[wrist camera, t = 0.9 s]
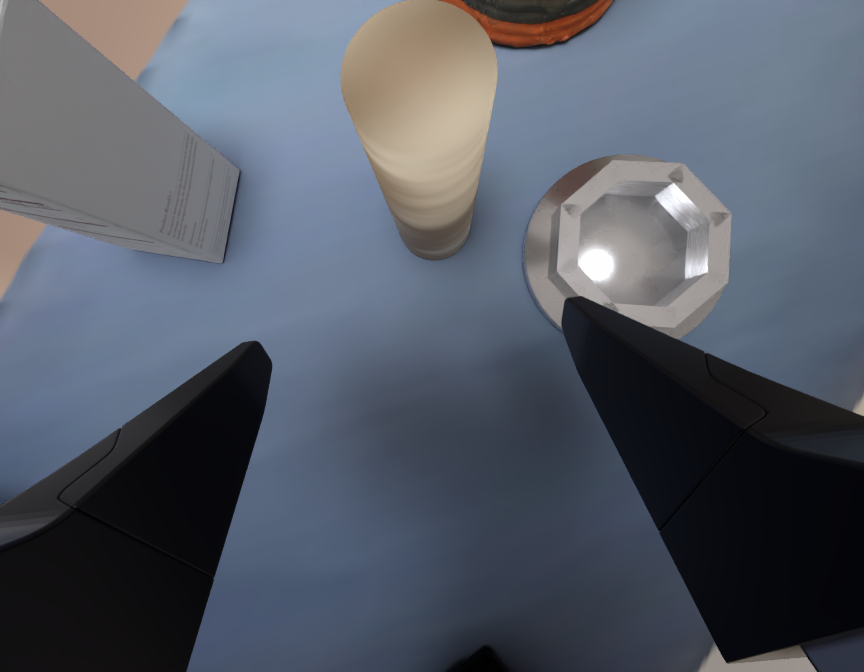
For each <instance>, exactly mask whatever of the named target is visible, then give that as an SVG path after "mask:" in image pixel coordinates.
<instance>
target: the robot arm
mask: <svg viewBox="0 0 864 672" xmlns="http://www.w3.org/2000/svg"><path fill="white" fill-rule="evenodd" d="M561 326H562V330H563V333H564V335H565V338H566V341H567V344H568V347H569V349H570V352H571V355H572V358H573V361H574V363H575V366H576V369H577V371H578V373H579V376H580V378H581V380H582V382H583V384H584V386H585V388H586V390H587V391H588V393H589V395H590V397H591V399H592V401H593V403H594V405H595V407H596V409H597V411H598V413H599V415H600V417H601V419H602V421H603V423H604V425H605V427H606V429H607V431H608V433H609V435H610V437H611V439H612V441H613V443H614V444H615V446H616V448H617V450H618V452H619V454H620V456H621V458H622V460H623V462H624V464H625V466H626V468H627V470H628V472H629V474H630V476H631V478H632V480H633V482H634V484H635V486H636V488H637V490H638V492H639V494H640V496H641V498H642V499H643V501H644V503H645V505H646V507H647V509H648V511H649V513H650V515H651V517H652V519H653V521H654V523H655V525H656V527H657V529H658V530H659V531H660V532H659V533H660V535H661V537H662V539H663V541H664V543H665V545H666V547H667V549H668V551H669V553H670V555H671V557H672V559H673V561H674V563H675V565H676V567H677V569H678V571H679V573H680V575H681V577H682V578H683V580H684V582H685V584H686V586H687V588H688V590H689V592H690V594H691V596H692V598H693V600H694V602H695V604H696V606H697V608H698V610H699V612H700V614H701V616H702V618H703V620H704V622H705V624H706V626H707V628H708V630H709V631H710V633H711V635H712V637H713V639H714V641H715V643H716V645H717V647H718V649H719V651H720V653H721V655H722V656H723V658H724V660H725V661H726V663H728V664H730V663H742V662H754V661H766V660H776V659H789V658H800V657H808V659H809V661H810V662H811V663H812V665H813V666H814V668H815V669H816V671H817V672H864V416H861V415H859V414H856V413H854V412H851V411H849V410H846V409H844V408H841V407H838V406H836V405H833V404H831V403H828V402H826V401H823V400H820V399H818V398H815V397H813V396H810V395H808V394H805V393H802V392H800V391H797V390H795V389H792V388H790V387H787V386H784V385H782V384H779V383H777V382H774V381H772V380H769V379H767V378H764V377H762V376H759V375H757V374H754V373H752V372H749V371H747V370H745V369H743V368H740V367H738V366H736V365H733V364H731V363H729V362H726V361H724V360H722V359H720V358H718V357H715V356H713V355H711V354H709V353H704V351H702V350H700V349H698V348H695V347H693V346H691V345H689V344H687V343H684V342H682V341H680V340H678V339H676V338H673V337H671V336H669V335H667V334H665V333H662V332H660V331H658V330H656V329H653V328H651V327H649V326H647V325H645V324H642V323H640V322H638V321H636V320H634V319H631V318H629V317H627V316H625V315H623V314H620V313H618V312H616V311H614V310H612V309H609V308H607V307H605V306H603V305H601V304H598V303H596V302H594V301H592V300H589V299H587V298H585V297H583V296H574V297H568V298H566V299H565V301H564V307H563V313H562V319H561ZM271 372H272V362H271V359H270V358H269V356H268V355H267V353H266V351H265V350H264V348H263V347H262V345H261V344H260V343H259V342H258V341H249V342H243V343H241V344H240V345H238V346H237V347H235V348H234V349H232V350H231V351H230V352H228V353H227V354H225V355H224V356H222V357H221V358H219V359H218V360H217V361H215V362H214V363H212V364H211V365H209V366H208V367H207V368H205V369H204V370H202V371H201V372H199V373H198V374H196V375H195V376H194V377H192V378H191V379H189V380H188V381H186V382H185V383H184V384H182V385H181V386H179V387H178V388H176V389H175V390H173V391H172V392H171V393H169V394H168V395H166V396H165V397H163V398H162V399H161V400H159V401H158V402H156V403H155V404H153V405H152V406H151V407H149V408H148V409H146V410H145V411H143V412H142V413H140V414H139V415H138V416H136V417H135V418H133V419H132V420H130V421H129V422H128V423H126V424H125V425H123V426H122V428H119V429H117V430H116V431H114V432H113V433H112V434H110V435H109V436H107V437H106V438H104V439H103V440H102V441H100V442H99V443H97V444H96V445H94V446H93V447H91V448H90V449H88V450H87V451H85V452H84V453H82V454H81V455H79V456H78V457H76V458H75V459H73V460H72V461H70V462H69V463H67V464H66V465H64V466H63V467H61V468H59V469H58V470H56V471H55V472H53V473H52V474H50V475H49V476H47V477H46V478H44V479H42V480H41V481H39V482H38V483H36V484H35V485H33V486H31V487H30V488H28V489H27V490H25V491H24V492H22V493H20V494H19V495H17V496H16V497H14V498H13V499H11V500H9V501H8V502H6V503H5V504H3V505H2V506H0V672H186V671H187V667H188V664H189V661H190V657H191V654H192V651H193V647H194V644H195V641H196V638H197V634H198V631H199V628H200V624H201V621H202V618H203V614H204V611H205V608H206V604H207V601H208V598H209V594H210V591H211V588H212V585H213V581H214V579H213V578H214V577H215V574H216V571H217V567H218V564H219V561H220V557H221V554H222V551H223V547H224V544H225V541H226V537H227V534H228V531H229V527H230V524H231V521H232V518H233V514H234V511H235V508H236V504H237V501H238V498H239V494H240V491H241V488H242V484H243V481H244V478H245V475H246V471H247V468H248V465H249V461H250V458H251V455H252V451H253V448H254V445H255V441H256V438H257V435H258V431H259V428H260V425H261V422H262V418H263V414H264V410H265V406H266V400H267V395H268V389H269V384H270V378H271ZM486 657H489V659H484V658H486ZM454 672H509V671H508V669H507V668H506V667H505V666H504V664H503V663H502V662H501V661H500V660H499V658H498V657H497V656H496V655H495V653H494V652H493V651H492V650H491V649H490V648H483V649H481V650H480V651H479V652H478V653H476V654H475V655H474V656H473V657H472V658H470V659H469V660H468V661H467V662H466V663H465V664H463V665H462V666H461V667H460V668H458V669H457V670H456V671H454Z"/></svg>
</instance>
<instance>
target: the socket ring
mask: <svg viewBox="0 0 864 672" xmlns="http://www.w3.org/2000/svg"><path fill="white" fill-rule="evenodd" d="M731 215H732V214H731V213H730V212H729V211H728V210H727V208H726V207H725V206H724V205H723V204H722V203H721V202H720V201H719V200H718V199H717V198H716V197H715V196H714V195H713V194H712V193H711V192H710V191H709V190H708V189H707V188H706V187H705V186H704V185H703V184H702V182H701V181H700V180H699V179H698V178H697V177H696V176H695V175H694V174H693V173H692V172H691V171H690V170H689V169H688V168H687V167H686V166H685V165H684V163H668V162H665V161H662V160H659V159H656V158H652V157H648V156H641V155H614V156H607V157H603V158H599V159H595V160H592V161H590V162H587V163H585V164H582V165H580V166H579V167H577V168H575V169H573V170H572V171H570V172H568V173H567V174H566V175H564V176H563V177H562V178H561V179H559V180H558V181H557V182H556V183H555V184H554V185H553V186H552V187H551V188H550V189H549V191H548V192H547V193H546V194H545V196H544V197H543V198H542V200H541V201H540V203H539V204H538V206H537V208H536V209H535V211H534V213H533V215H532V217H531V219H530V221H529V224H528V226H527V229H526V233H525V236H524V242H523V249H522V264H523V271H524V277H525V280H526V284H527V287H528V290H529V292H530V294H531V297H532V299H533V300H534V302H535V304H536V305H537V307H538V309H539V310H540V311H541V313H542V314H543V315H544V316H545V318H546V319H547V320H548V321H549V322H550V323H551V324H552V325H553V326H554V327H555V328H557V329H558V330H559V331H561V332H562V333H563V330H562V326H561V319H562V313H563V307H564V301H565V299H566V298H568V297H574V296H583V297H585V298H587V299H589V300H592V301H594V302H596V303H598V304H601V305H603V306H605V307H607V308H609V309H612V310H614V311H616V312H618V313H620V314H623V315H625V316H627V317H629V318H631V319H634V320H636V321H638V322H640V323H642V324H645V325H647V326H649V327H651V328H653V329H656V330H658V331H660V332H662V333H665V334H667V335H669V336H671V337H673V338H676V339H679V338H681V337H683V336H684V335H686V334H687V333H689V332H690V331H691V330H693V329H694V328H695V327H697V326H698V325H699V324H700V323H701V322H702V321H703V320H704V319H705V318H706V317H707V315H708V314H709V313H710V312H711V310H712V309H713V308H714V306H715V304H716V303H717V301H718V299H719V298H720V296H721V293H722V291H723V289H724V286H725V285H726V284H727V283H728V282H729V281H728V275H729V265H730V233H731ZM563 334H564V333H563Z"/></svg>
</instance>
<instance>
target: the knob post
mask: <svg viewBox="0 0 864 672" xmlns="http://www.w3.org/2000/svg"><path fill="white" fill-rule="evenodd" d="M497 78H498V66H497V59H496V54H495V51H494V47H493V45H492V43H491V40H490V38H489V36H488V35H487V33H486V32H485V30H484V29H483V28H482V26H481V25H480V24H479V23H478V22H477V21H476V20H475V19H474V18H473V17H472V16H471V15H469V14H468V13H467V12H465V11H464V10H462V9H460V8H458V7H456V6H454V5H452V4H449V3H446V2H443V1H438V0H407V1H403V2H399V3H396V4H393V5H391V6H389V7H386V8H384V9H383V10H381V11H379V12H378V13H376V14H375V15H373V16H372V17H371V18H370V19H368V20H367V21H366V22H365V23H364V24H363V25H362V26H361V27H360V29H359V30H358V31H357V32H356V34H355V35H354V37H353V38H352V40H351V42H350V43H349V45H348V48H347V50H346V52H345V56H344V59H343V62H342V69H341V89H342V94H343V98H344V102H345V104H346V107H347V109H348V112H349V114H350V117H351V119H352V121H353V124H354V126H355V128H356V131H357V133H358V136H359V138H360V140H361V143H362V145H363V147H364V150H365V152H366V155H367V157H368V159H369V162H370V164H371V166H372V169H373V171H374V174H375V176H376V178H377V181H378V183H379V185H380V188H381V190H382V193H383V195H384V197H385V200H386V202H387V204H388V207H389V209H390V212H391V214H392V216H393V219H394V221H395V223H396V226H397V228H398V231H399V233H400V235H401V238H402V240H403V242H404V244H405V245H406V247H407V248H408V249H409V250H410V251H411V252H412V253H413V254H415V255H416V256H418V257H420V258H423V259H427V260H442V259H445V258H448V257H450V256H452V255H454V254H455V253H456V252H458V251H459V250H460V249H461V248H462V246H463V245H464V244H465V242H466V240H467V238H468V235H469V231H470V226H471V221H472V215H473V210H474V204H475V199H476V194H477V188H478V183H479V177H480V172H481V167H482V161H483V156H484V150H485V145H486V140H487V134H488V129H489V123H490V118H491V113H492V107H493V102H494V96H495V91H496V85H497Z"/></svg>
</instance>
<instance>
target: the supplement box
mask: <svg viewBox="0 0 864 672" xmlns="http://www.w3.org/2000/svg"><path fill="white" fill-rule="evenodd" d="M238 177H239V169H238V168H237V167H236V166H234V165H233V164H232V163H231V162H230V161H229V160H227V159H226V158H225V157H224V156H223V155H221V154H220V153H219V152H218V151H217V150H215V149H214V148H213V147H212V146H211V145H209V144H208V143H207V142H206V141H205V140H204V139H202V138H201V137H200V136H199V135H198V134H196V133H195V132H194V131H193V130H192V129H191V128H189V127H188V126H187V125H186V124H185V123H183V122H182V121H181V120H180V119H179V118H178V117H176V116H175V115H174V114H173V113H172V112H170V111H169V110H168V109H167V108H166V107H164V106H163V105H162V104H161V103H160V102H159V101H157V100H156V99H155V98H154V97H153V96H151V95H150V94H149V93H148V92H147V91H145V90H144V89H143V88H142V87H141V86H140V85H138V84H137V83H136V82H135V81H134V80H132V79H131V78H130V77H129V76H128V75H126V74H125V73H124V72H123V71H122V70H120V69H119V68H118V67H117V66H116V65H115V64H113V63H112V62H111V61H110V60H108V59H107V58H106V57H105V56H104V55H103V54H101V53H100V52H99V51H98V50H97V49H96V48H95V47H93V46H92V45H91V44H90V43H89V42H87V41H86V40H85V39H84V38H83V37H82V36H80V35H79V34H78V33H77V32H75V31H74V30H73V29H72V28H71V27H70V26H68V25H67V24H66V23H65V22H63V21H62V20H61V19H60V18H59V17H58V16H56V15H55V14H54V13H53V12H52V11H50V10H49V9H48V8H47V7H46V6H45V5H44V4H42V3H41V2H40V1H39V0H0V210H4V211H7V212H10V213H13V214H17V215H20V216H23V217H27V218H30V219H33V220H36V221H39V222H42V223H46V224H49V225H52V226H55V227H59V228H62V229H65V230H68V231H71V232H75V233H78V234H81V235H84V236H87V237H90V238H94V239H97V240H100V241H103V242H106V243H110V244H113V245H116V246H120V247H123V248H127V249H131V250H138V251H145V252H151V253H158V254H164V255H170V256H176V257H183V258H189V259H195V260H201V261H208V262H214V263H222V262H223V258H224V252H225V247H226V241H227V235H228V230H229V225H230V219H231V214H232V208H233V203H234V198H235V192H236V187H237V182H238Z"/></svg>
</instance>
